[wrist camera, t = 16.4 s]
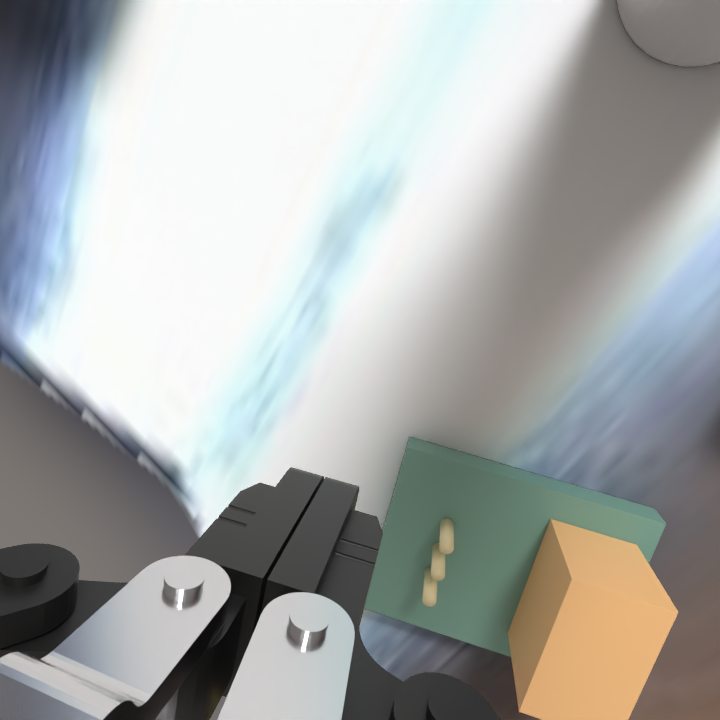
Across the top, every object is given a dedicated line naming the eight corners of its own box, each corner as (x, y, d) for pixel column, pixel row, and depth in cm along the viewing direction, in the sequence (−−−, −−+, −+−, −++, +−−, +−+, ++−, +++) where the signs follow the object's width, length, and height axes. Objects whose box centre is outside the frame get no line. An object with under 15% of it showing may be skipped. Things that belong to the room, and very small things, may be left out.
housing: (637, 544, 34) (678, 612, 28) (588, 659, 37) (616, 745, 30) (550, 518, 35) (572, 579, 29) (507, 632, 37) (518, 711, 31)
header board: (654, 508, 36) (686, 550, 31) (588, 663, 39) (607, 722, 34) (409, 436, 38) (403, 465, 33) (365, 590, 41) (354, 636, 36)
